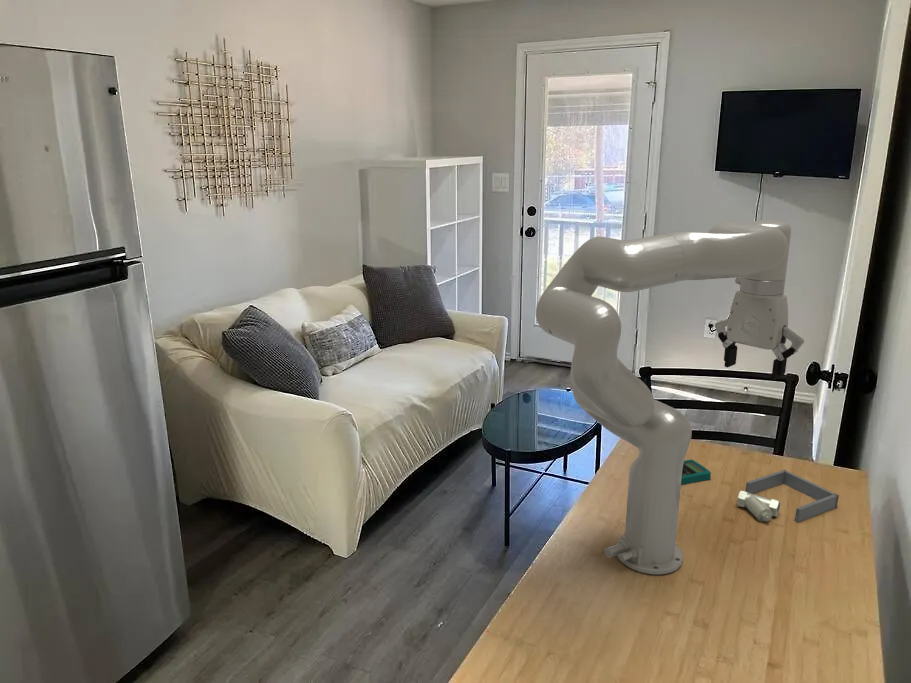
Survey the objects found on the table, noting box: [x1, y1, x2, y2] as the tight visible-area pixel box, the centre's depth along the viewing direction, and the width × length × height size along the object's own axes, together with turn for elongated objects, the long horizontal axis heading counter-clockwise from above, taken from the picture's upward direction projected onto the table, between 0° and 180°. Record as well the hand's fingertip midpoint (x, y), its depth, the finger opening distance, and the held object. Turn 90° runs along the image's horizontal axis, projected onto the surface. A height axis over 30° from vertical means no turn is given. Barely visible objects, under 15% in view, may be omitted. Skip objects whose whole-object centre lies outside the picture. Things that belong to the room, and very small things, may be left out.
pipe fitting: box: [736, 490, 781, 522], centre depth 143 cm, size 8×4×7 cm
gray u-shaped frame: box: [744, 469, 840, 523], centre depth 148 cm, size 13×14×3 cm
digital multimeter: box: [681, 459, 712, 486], centre depth 159 cm, size 7×15×3 cm, turn 109°
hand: (752, 371), depth 130 cm, fingers open, 9 cm apart
